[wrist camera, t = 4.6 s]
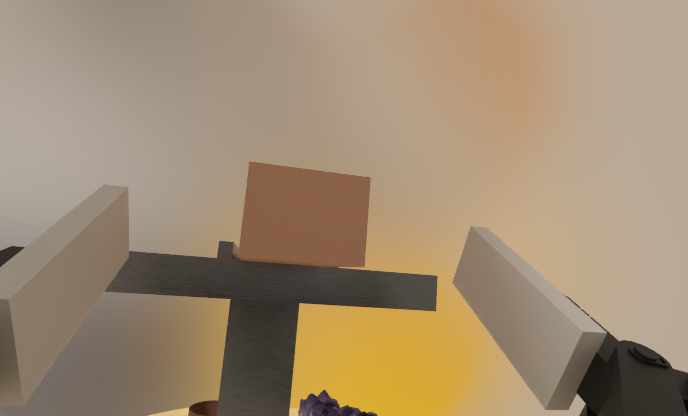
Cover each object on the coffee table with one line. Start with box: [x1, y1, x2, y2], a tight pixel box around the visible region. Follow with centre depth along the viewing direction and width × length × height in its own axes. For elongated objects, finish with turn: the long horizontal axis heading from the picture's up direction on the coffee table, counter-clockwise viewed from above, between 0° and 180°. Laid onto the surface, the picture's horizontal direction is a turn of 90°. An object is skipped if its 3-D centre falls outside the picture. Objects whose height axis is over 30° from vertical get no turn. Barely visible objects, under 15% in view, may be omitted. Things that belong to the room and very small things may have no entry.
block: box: [238, 162, 370, 267], centre depth 32 cm, size 40×4×3 cm, turn 13°
